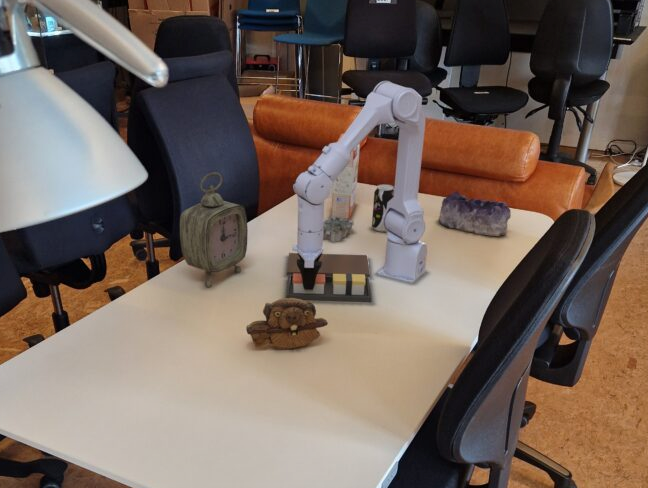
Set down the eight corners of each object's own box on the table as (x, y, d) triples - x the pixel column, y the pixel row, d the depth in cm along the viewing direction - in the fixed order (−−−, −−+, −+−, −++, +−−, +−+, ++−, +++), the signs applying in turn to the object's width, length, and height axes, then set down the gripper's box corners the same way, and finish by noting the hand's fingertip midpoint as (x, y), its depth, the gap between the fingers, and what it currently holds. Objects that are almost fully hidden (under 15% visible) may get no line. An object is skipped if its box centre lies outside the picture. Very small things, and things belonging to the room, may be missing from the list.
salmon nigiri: (324, 286, 169) (325, 273, 168) (324, 294, 166) (325, 280, 164) (293, 285, 170) (293, 272, 168) (292, 293, 166) (292, 280, 165)
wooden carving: (250, 357, 143) (249, 311, 137) (245, 346, 146) (244, 301, 141) (329, 347, 146) (331, 302, 141) (322, 336, 150) (324, 292, 144)
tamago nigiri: (363, 287, 169) (364, 273, 167) (364, 295, 166) (365, 281, 164) (332, 286, 169) (332, 272, 168) (332, 294, 166) (333, 280, 164)
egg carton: (337, 243, 193) (338, 228, 191) (313, 237, 197) (313, 223, 194) (356, 231, 201) (357, 217, 199) (332, 226, 204) (333, 211, 202)
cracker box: (350, 220, 208) (355, 145, 197) (330, 218, 209) (333, 144, 198) (356, 204, 220) (361, 133, 208) (337, 203, 221) (340, 132, 209)
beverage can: (367, 227, 204) (370, 184, 197) (385, 224, 206) (388, 182, 199) (378, 234, 199) (381, 191, 193) (395, 231, 201) (400, 188, 195)
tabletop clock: (208, 292, 167) (202, 184, 153) (180, 282, 172) (172, 176, 158) (248, 272, 177) (246, 169, 163) (220, 263, 181) (216, 162, 168)
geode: (431, 229, 203) (435, 193, 198) (442, 222, 212) (446, 187, 208) (504, 239, 195) (510, 201, 191) (512, 231, 204) (518, 195, 200)
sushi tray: (368, 283, 172) (369, 276, 171) (370, 303, 163) (371, 297, 162) (288, 280, 173) (288, 274, 172) (286, 301, 164) (286, 294, 163)
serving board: (367, 259, 184) (367, 255, 184) (369, 278, 174) (370, 274, 174) (289, 257, 185) (289, 252, 184) (287, 276, 175) (287, 271, 174)
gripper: (293, 216, 166) (292, 271, 173) (291, 239, 154) (290, 297, 161) (324, 217, 166) (322, 272, 173) (324, 240, 154) (321, 298, 161)
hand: (308, 284), depth 167 cm, fingers closed on salmon nigiri, 4 cm apart
